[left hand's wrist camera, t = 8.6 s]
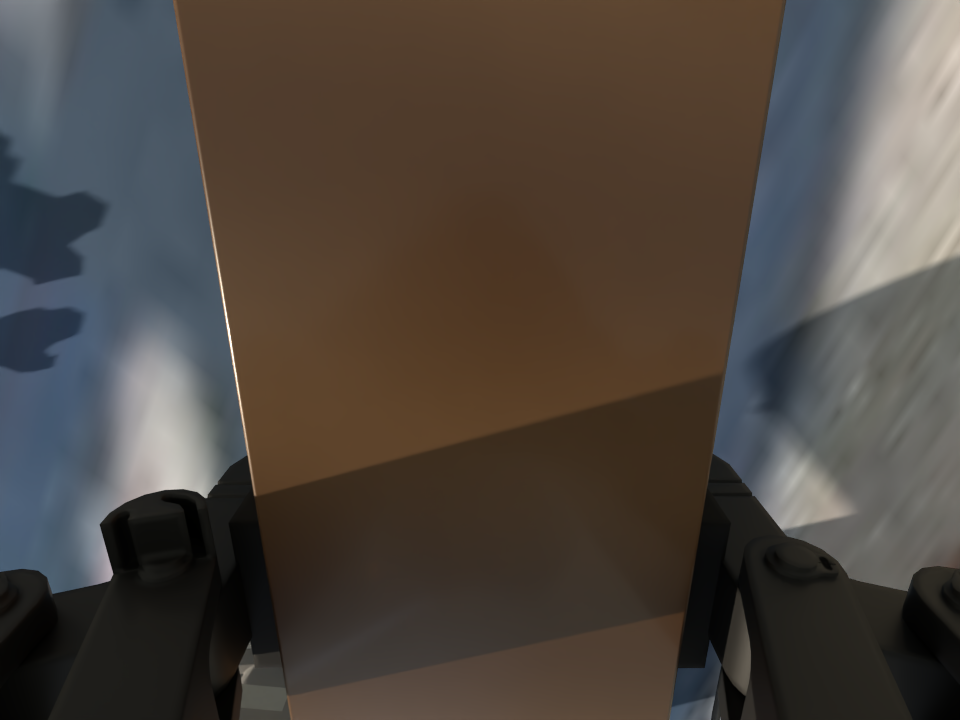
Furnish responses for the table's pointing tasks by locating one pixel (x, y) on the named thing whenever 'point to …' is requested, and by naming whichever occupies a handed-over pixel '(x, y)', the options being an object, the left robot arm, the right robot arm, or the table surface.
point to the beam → (479, 331)
